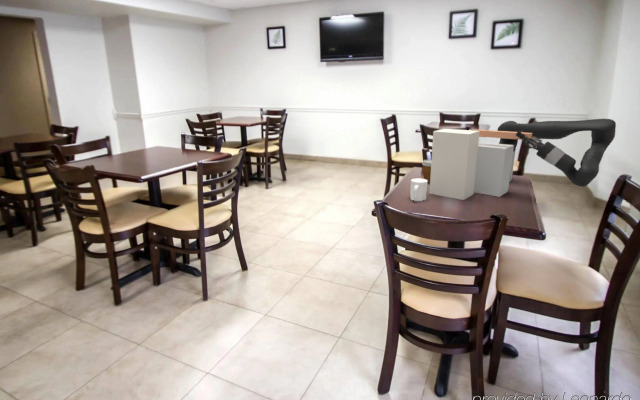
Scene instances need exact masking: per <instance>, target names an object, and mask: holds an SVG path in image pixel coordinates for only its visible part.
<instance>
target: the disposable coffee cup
mask: <svg viewBox="0 0 640 400" xmlns="http://www.w3.org/2000/svg"><path fill="white" fill-rule="evenodd" d="M431 160H432V159H423V161H422V162H421V164H422V173H423V179H426V180H427V181H428V182H427V184H430V176H431Z"/></svg>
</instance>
